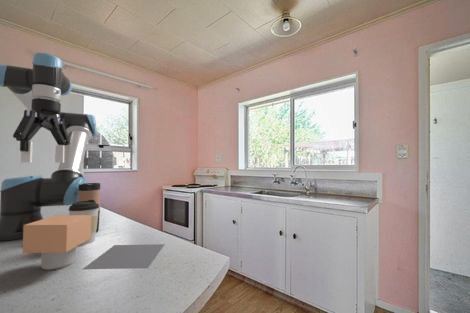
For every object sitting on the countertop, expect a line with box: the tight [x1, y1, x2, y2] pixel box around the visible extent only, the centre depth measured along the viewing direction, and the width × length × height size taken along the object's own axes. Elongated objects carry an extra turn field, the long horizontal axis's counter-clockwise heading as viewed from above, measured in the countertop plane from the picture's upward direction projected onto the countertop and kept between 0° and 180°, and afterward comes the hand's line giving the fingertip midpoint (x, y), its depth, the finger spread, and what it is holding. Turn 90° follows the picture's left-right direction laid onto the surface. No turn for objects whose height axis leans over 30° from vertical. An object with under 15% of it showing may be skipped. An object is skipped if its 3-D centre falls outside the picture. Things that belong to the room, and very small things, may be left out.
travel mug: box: [78, 182, 101, 233], centre depth 90 cm, size 8×8×20 cm
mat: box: [82, 243, 166, 270], centre depth 66 cm, size 17×17×1 cm
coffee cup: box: [68, 200, 99, 248], centre depth 77 cm, size 9×9×15 cm
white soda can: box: [40, 247, 77, 271], centre depth 61 cm, size 8×8×12 cm
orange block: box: [22, 214, 92, 254], centre depth 61 cm, size 11×11×7 cm
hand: (44, 162), depth 74 cm, fingers open, 13 cm apart
